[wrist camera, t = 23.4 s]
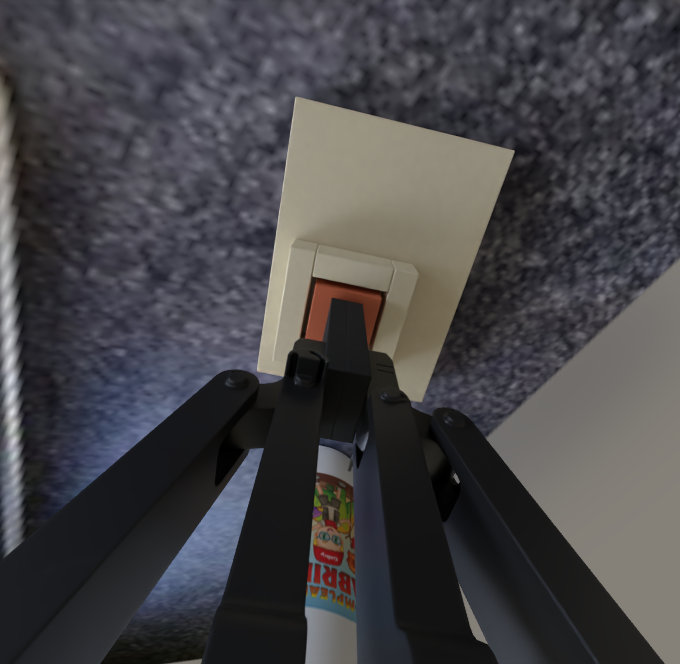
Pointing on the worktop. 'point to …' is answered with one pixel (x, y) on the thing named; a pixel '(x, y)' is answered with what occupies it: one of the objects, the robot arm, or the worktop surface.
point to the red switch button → (344, 292)
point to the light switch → (379, 230)
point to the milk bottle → (332, 565)
